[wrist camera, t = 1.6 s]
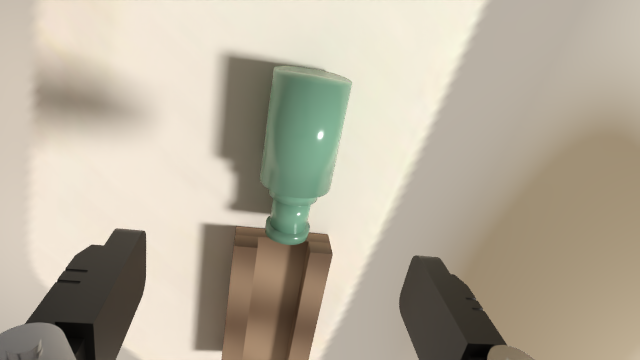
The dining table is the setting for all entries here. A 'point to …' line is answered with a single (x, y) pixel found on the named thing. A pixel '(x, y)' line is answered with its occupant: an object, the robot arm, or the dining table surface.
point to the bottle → (301, 145)
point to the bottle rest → (274, 296)
